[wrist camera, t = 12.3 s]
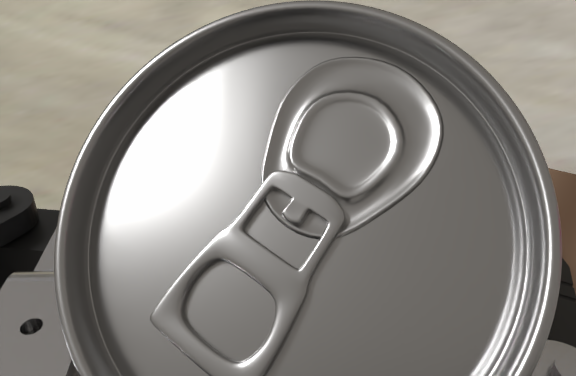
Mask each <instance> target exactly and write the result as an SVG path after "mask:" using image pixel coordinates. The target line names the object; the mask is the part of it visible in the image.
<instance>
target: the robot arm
mask: <svg viewBox="0 0 576 376" xmlns="http://www.w3.org/2000/svg"><path fill="white" fill-rule="evenodd" d="M59 212H60V211H59V210H47V209H37V208H36V204H35V201H34V197H33V194H32V193H31V192H30V191H29V190H28V189H26V188H23V187H19V186H0V376H79V374H78V372H77V370H76V368H75V366H74V363H73V361H72V358H71V356H70V353H69V350H68V347H67V344H66V341H65V338H64V334H63V330H62V327H61V322H60V317H59V313H58V307H57V300H56V292H55V280H54V252H55V238H56V230H57V223H58V217H59ZM531 376H576V294H575V290H574V288H573V281H572V276H571V271H570V267H569V266H568V264H567V263H566V262H565V260H564V259H563V258H562V269H561V281H560V289H559V295H558V301H557V306H556V310H555V315H554V319H553V322H552V326H551V329H550V333H549V335H548V338H547V341H546V344H545V347H544V349H543V352H542V354H541V356H540V359H539V361H538V363H537V365H536V367H535V369H534V371H533V373H532V375H531Z"/></svg>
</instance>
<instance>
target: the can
mask: <svg viewBox="0 0 576 376" xmlns="http://www.w3.org/2000/svg"><path fill="white" fill-rule="evenodd" d="M561 269H562V234H561V223H560V215H559V209H558V203H557V198H556V194H555V190H554V186H553V182H552V178H551V175H550V172H549V169H548V166H547V163H546V161H545V158H544V156H543V153H542V151H541V149H540V146H539V144H538V142H537V140H536V138H535V136H534V134H533V132H532V130H531V128H530V126H529V125H528V123H527V121H526V120H525V118H524V116H523V115H522V113H521V112H520V110H519V109H518V107H517V106H516V104H515V103H514V102H513V100H512V99H511V98H510V96H509V95H508V94H507V92H506V91H505V90H504V89H503V88H502V86H501V85H500V84H499V83H498V82H497V81H496V80H495V79H494V77H493V76H492V75H491V74H490V73H489V72H488V71H487V70H486V69H485V68H484V67H482V66H481V65H480V64H479V63H478V62H477V61H476V60H475V59H473V58H472V57H471V56H470V55H469V54H467V53H466V52H465V51H463V50H462V49H461V48H459V47H458V46H457V45H455V44H454V43H452V42H451V41H449V40H448V39H446V38H445V37H443V36H441V35H440V34H438V33H436V32H434V31H433V30H431V29H429V28H427V27H425V26H423V25H421V24H419V23H417V22H414V21H412V20H410V19H407V18H405V17H402V16H399V15H397V14H394V13H391V12H387V11H384V10H381V9H377V8H373V7H369V6H364V5H359V4H353V3H346V2H336V1H293V2H283V3H276V4H270V5H265V6H260V7H256V8H252V9H248V10H244V11H241V12H238V13H235V14H232V15H229V16H226V17H224V18H221V19H219V20H216V21H214V22H212V23H209V24H207V25H205V26H203V27H201V28H199V29H197V30H195V31H193V32H191V33H190V34H188V35H186V36H184V37H183V38H181V39H179V40H178V41H176V42H175V43H173V44H172V45H170V46H169V47H167V48H166V49H165V50H163V51H162V52H160V53H159V54H158V55H157V56H155V57H154V58H153V59H151V60H150V61H149V62H148V63H147V64H146V65H144V66H143V67H142V68H141V69H140V70H139V71H138V72H137V73H136V74H135V75H134V76H133V77H132V78H131V79H130V80H129V81H128V82H127V83H126V84H125V85H124V86H123V87H122V88H121V89H120V91H119V92H118V93H117V94H116V95H115V97H114V98H113V99H112V100H111V102H110V103H109V104H108V105H107V107H106V108H105V110H104V111H103V112H102V114H101V115H100V117H99V118H98V120H97V121H96V123H95V124H94V126H93V128H92V129H91V131H90V133H89V135H88V136H87V138H86V140H85V142H84V144H83V146H82V148H81V150H80V152H79V154H78V156H77V159H76V161H75V163H74V166H73V168H72V171H71V174H70V176H69V179H68V182H67V185H66V188H65V192H64V195H63V199H62V203H61V208H60V212H59V217H58V223H57V230H56V238H55V252H54V280H55V292H56V300H57V307H58V313H59V317H60V322H61V327H62V330H63V334H64V338H65V341H66V344H67V347H68V350H69V353H70V356H71V358H72V361H73V363H74V366H75V368H76V370H77V372H78V374H79V376H531V375H532V373H533V371H534V369H535V367H536V365H537V363H538V361H539V359H540V356H541V354H542V352H543V349H544V347H545V344H546V341H547V338H548V335H549V333H550V329H551V326H552V322H553V319H554V315H555V310H556V306H557V301H558V295H559V289H560V281H561Z"/></svg>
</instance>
